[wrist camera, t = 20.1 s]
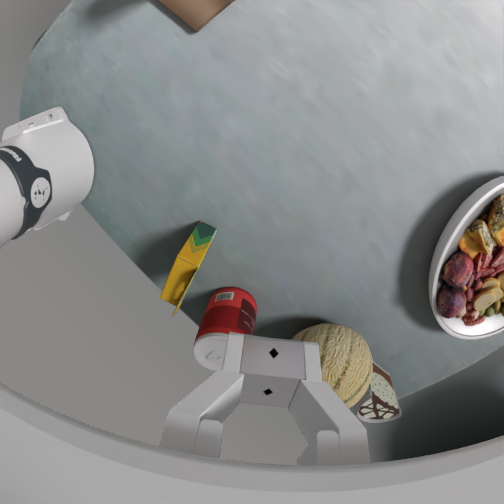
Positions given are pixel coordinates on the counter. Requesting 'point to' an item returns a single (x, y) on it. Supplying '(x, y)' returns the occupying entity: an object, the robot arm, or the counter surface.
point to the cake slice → (378, 399)
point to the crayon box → (187, 264)
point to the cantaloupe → (341, 359)
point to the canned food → (223, 324)
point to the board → (196, 10)
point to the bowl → (471, 266)
